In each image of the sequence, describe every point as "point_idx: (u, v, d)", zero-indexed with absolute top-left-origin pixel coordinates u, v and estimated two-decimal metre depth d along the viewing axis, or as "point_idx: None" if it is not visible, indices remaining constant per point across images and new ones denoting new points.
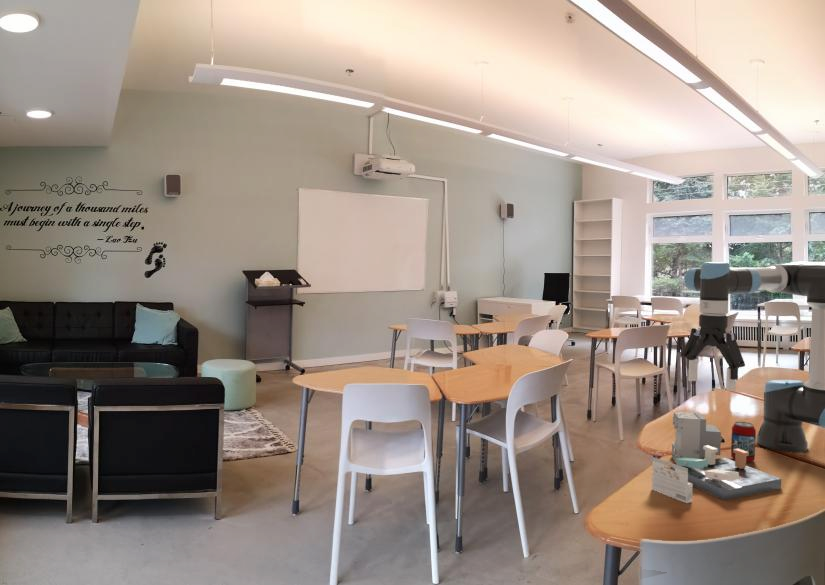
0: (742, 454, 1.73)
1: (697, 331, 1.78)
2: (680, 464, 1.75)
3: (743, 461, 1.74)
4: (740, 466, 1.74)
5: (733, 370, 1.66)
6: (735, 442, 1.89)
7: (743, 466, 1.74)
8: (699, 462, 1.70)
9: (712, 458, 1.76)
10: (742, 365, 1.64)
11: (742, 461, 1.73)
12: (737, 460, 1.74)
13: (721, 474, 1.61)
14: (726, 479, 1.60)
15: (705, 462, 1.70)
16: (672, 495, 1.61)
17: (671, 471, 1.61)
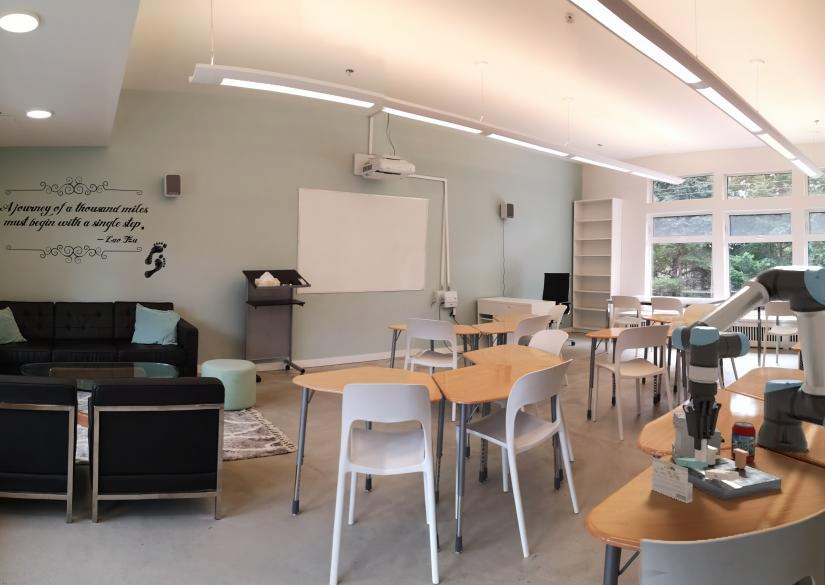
0: (742, 454, 1.73)
1: None
2: (680, 464, 1.75)
3: (743, 461, 1.74)
4: (740, 466, 1.74)
5: None
6: (735, 442, 1.89)
7: (743, 466, 1.74)
8: (699, 462, 1.70)
9: (712, 458, 1.76)
10: (693, 436, 1.68)
11: (742, 461, 1.73)
12: (737, 460, 1.74)
13: (721, 474, 1.61)
14: (726, 479, 1.60)
15: (705, 462, 1.70)
16: (672, 495, 1.61)
17: (671, 471, 1.61)
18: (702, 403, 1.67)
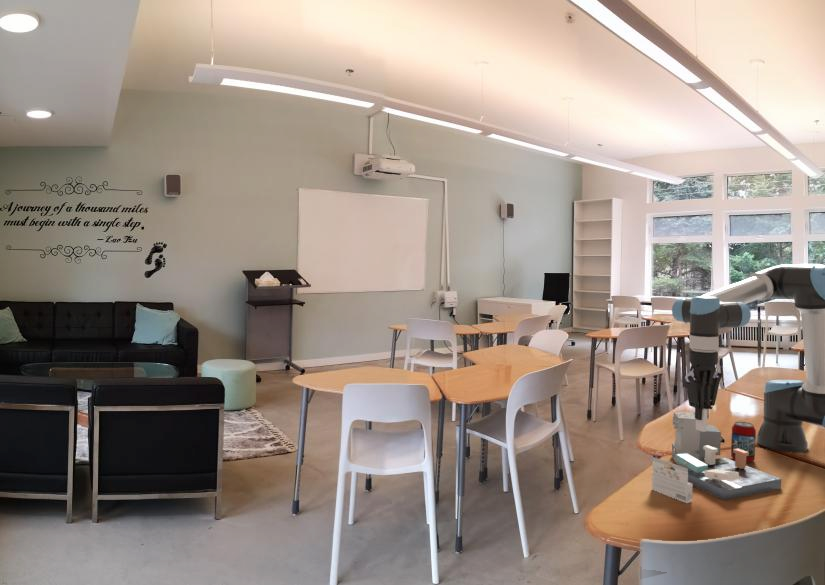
0: (742, 454, 1.73)
1: None
2: (680, 461, 1.75)
3: (743, 461, 1.74)
4: (740, 466, 1.74)
5: None
6: (735, 442, 1.89)
7: (743, 466, 1.74)
8: (700, 467, 1.69)
9: (712, 458, 1.76)
10: (693, 406, 1.68)
11: (742, 461, 1.73)
12: (737, 460, 1.74)
13: (721, 474, 1.61)
14: (726, 479, 1.60)
15: (705, 467, 1.70)
16: (672, 495, 1.61)
17: (671, 471, 1.61)
18: (703, 373, 1.67)
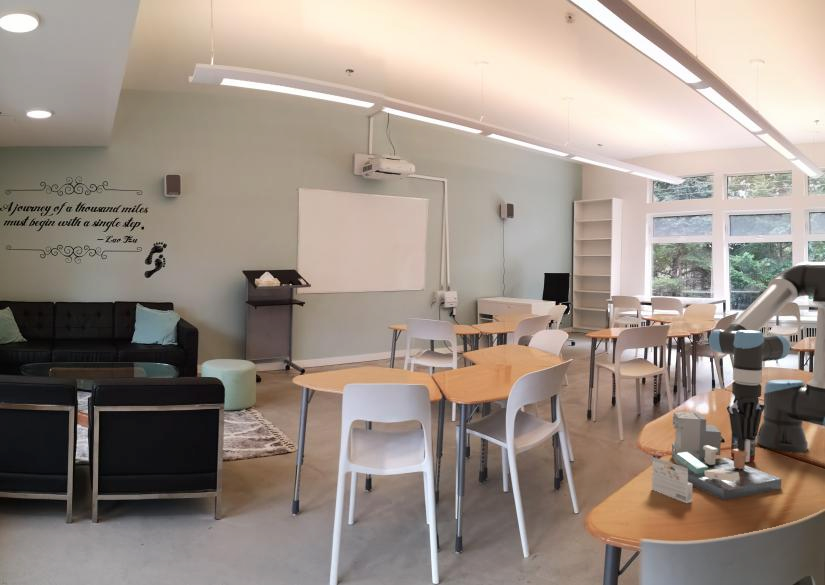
0: (741, 454, 1.73)
1: None
2: (680, 460, 1.75)
3: (742, 461, 1.73)
4: (739, 466, 1.73)
5: None
6: (735, 442, 1.89)
7: (742, 466, 1.74)
8: (699, 469, 1.70)
9: (712, 458, 1.76)
10: (737, 437, 1.73)
11: (741, 461, 1.73)
12: (736, 461, 1.74)
13: (721, 474, 1.61)
14: (726, 479, 1.60)
15: (705, 469, 1.70)
16: (672, 495, 1.61)
17: (671, 471, 1.61)
18: (746, 405, 1.72)
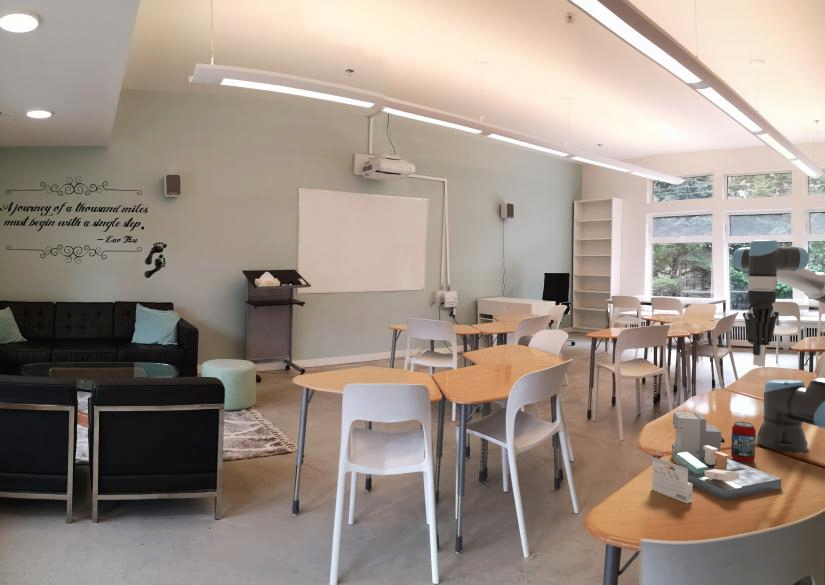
0: (723, 457, 1.70)
1: None
2: (680, 460, 1.75)
3: (724, 464, 1.71)
4: (721, 469, 1.71)
5: None
6: (735, 442, 1.89)
7: (724, 469, 1.71)
8: (699, 469, 1.70)
9: (712, 458, 1.76)
10: (752, 342, 1.81)
11: (723, 464, 1.71)
12: (718, 464, 1.72)
13: (721, 474, 1.61)
14: (726, 479, 1.60)
15: (705, 469, 1.70)
16: (672, 495, 1.61)
17: (671, 471, 1.61)
18: (761, 310, 1.79)
